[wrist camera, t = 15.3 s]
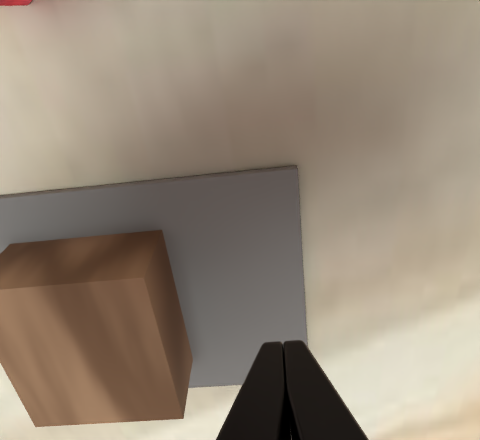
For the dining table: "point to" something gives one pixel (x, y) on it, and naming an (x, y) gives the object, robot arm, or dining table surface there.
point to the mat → (197, 253)
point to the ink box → (14, 2)
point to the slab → (94, 329)
